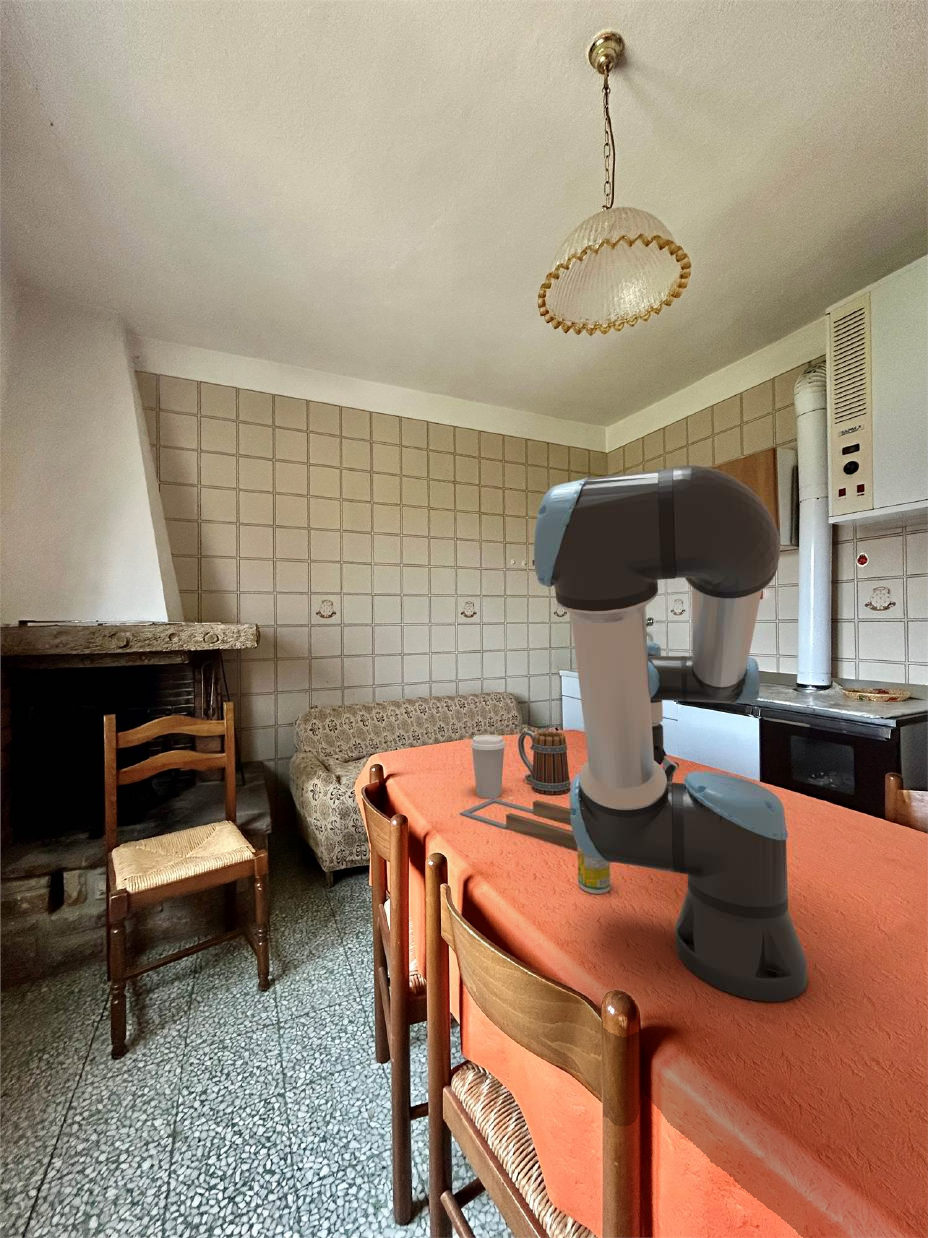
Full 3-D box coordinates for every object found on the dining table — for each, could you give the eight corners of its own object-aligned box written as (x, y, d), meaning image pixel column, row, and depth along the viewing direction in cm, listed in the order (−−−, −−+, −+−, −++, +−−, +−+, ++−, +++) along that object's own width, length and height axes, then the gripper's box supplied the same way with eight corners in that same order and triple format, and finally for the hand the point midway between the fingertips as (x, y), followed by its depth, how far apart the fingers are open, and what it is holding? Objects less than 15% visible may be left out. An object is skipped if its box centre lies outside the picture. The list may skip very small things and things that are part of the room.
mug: (577, 788, 135) (576, 733, 135) (556, 798, 127) (555, 740, 127) (530, 777, 145) (530, 726, 146) (508, 786, 138) (507, 732, 138)
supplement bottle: (608, 897, 80) (607, 838, 81) (575, 891, 82) (574, 833, 83) (612, 881, 85) (611, 826, 86) (581, 876, 87) (579, 821, 88)
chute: (599, 858, 94) (598, 842, 94) (506, 828, 109) (506, 815, 109) (625, 837, 103) (625, 822, 103) (536, 812, 118) (536, 800, 118)
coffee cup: (463, 796, 130) (462, 739, 130) (483, 786, 138) (482, 732, 138) (494, 803, 124) (493, 743, 125) (513, 792, 132) (512, 736, 133)
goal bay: (505, 829, 108) (505, 827, 108) (459, 814, 117) (459, 813, 117) (537, 812, 118) (537, 810, 118) (493, 799, 127) (493, 798, 127)
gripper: (683, 723, 93) (686, 848, 93) (618, 715, 102) (620, 830, 102) (669, 730, 88) (673, 863, 87) (601, 721, 96) (604, 843, 96)
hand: (644, 845), depth 94 cm, fingers closed
